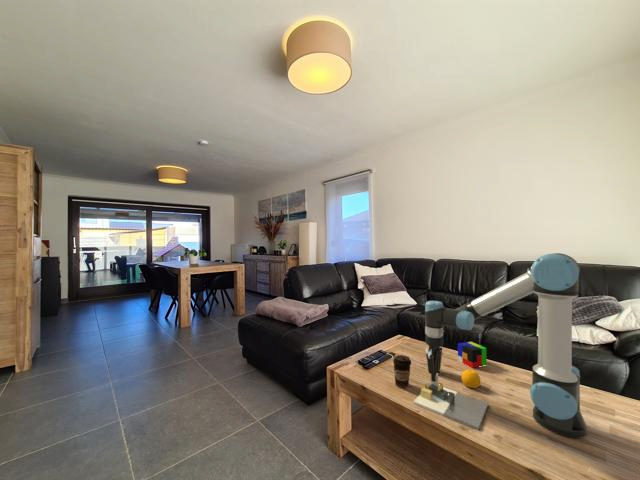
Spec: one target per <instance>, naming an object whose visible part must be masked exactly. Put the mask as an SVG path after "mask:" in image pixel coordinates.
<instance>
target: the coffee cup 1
mask: <svg viewBox="0 0 640 480" xmlns="http://www.w3.org/2000/svg"><path fill="white" fill-rule="evenodd" d="M392 361H393V372H394V381H395V386H397V387H399V388H403V389H404V388H409V387H410V376H411V365H412V360H411V359H410V357H409V356H407V355H404V354H403V355H401V354H400V355H395V356H394V358H393V360H392Z"/></svg>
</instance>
